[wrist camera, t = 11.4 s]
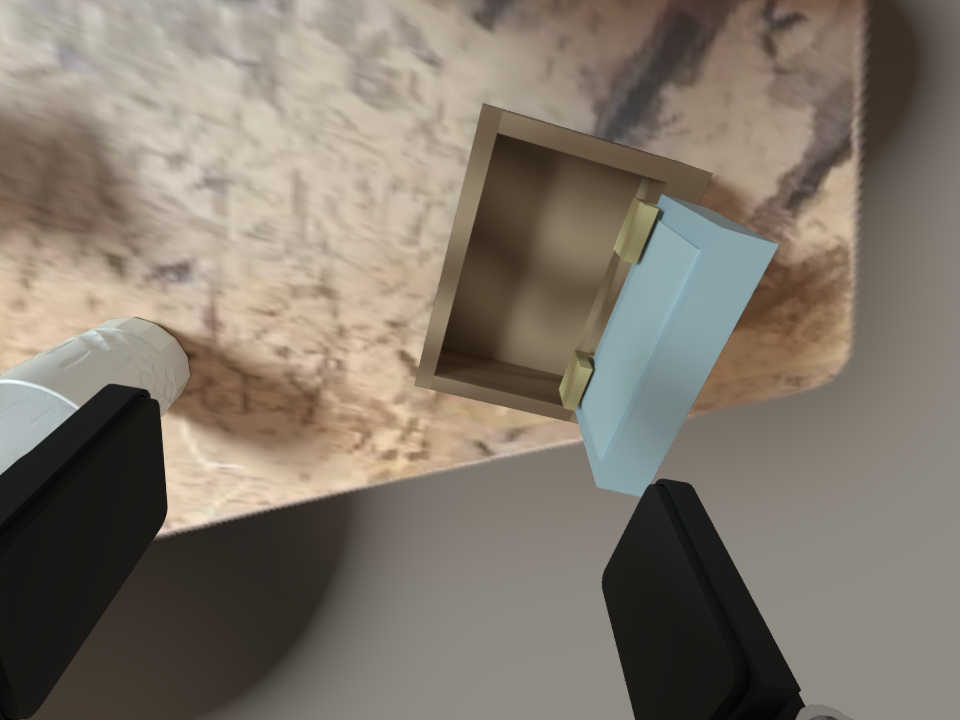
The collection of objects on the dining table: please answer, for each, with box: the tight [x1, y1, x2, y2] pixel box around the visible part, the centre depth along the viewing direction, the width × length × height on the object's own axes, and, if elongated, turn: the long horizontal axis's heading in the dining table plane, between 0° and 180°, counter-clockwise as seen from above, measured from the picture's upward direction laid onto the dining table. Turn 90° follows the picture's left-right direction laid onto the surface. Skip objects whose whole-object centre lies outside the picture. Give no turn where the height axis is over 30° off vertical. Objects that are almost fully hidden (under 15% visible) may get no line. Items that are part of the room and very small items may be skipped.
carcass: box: [415, 103, 713, 424], centre depth 31 cm, size 16×13×7 cm
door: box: [575, 194, 779, 497], centre depth 26 cm, size 13×3×8 cm, turn 165°
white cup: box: [0, 317, 190, 475], centre depth 33 cm, size 8×8×10 cm
